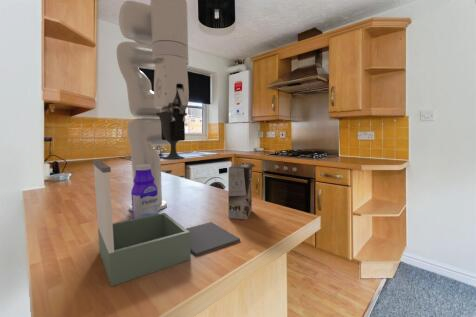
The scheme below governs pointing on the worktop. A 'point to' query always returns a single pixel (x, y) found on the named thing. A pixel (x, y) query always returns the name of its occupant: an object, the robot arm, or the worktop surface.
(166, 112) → the sundae
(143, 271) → the open box
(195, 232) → the mat
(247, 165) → the coffee box
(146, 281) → the worktop surface
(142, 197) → the bottle
